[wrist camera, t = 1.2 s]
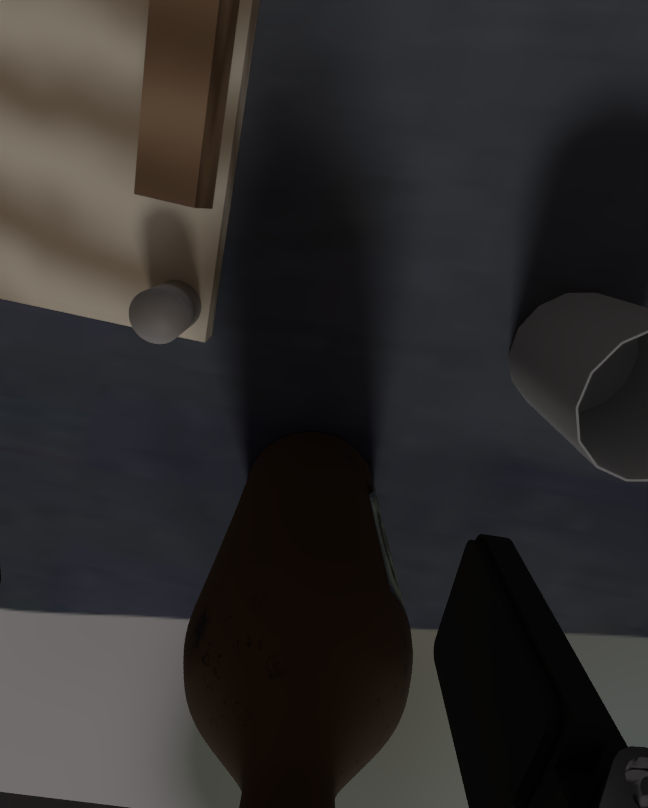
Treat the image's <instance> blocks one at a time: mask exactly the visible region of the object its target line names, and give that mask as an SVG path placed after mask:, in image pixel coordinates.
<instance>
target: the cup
mask: <svg viewBox="0 0 648 808" xmlns="http://www.w3.org/2000/svg"><path fill="white" fill-rule="evenodd" d="M509 363H510V372H511V380H512V382H513V383H514V385H515V386H516V387H517V389H518V390H519V392H520V393H521V394H522V396H523V397H524V399H525V400H526V401H527V402H528V403H529V404H530V405H531V406H532V407H533V408H534V409H535V410H536V411H537V412H539V413H540V414H541V415H542V416H543V417H544V418H545V419H546V420H547V421H548V422H549V423H550V424H551V425H552V426H553V427H554V428H555V429H556V430H557V431H558V432H559V433H561V434H562V435H563V436H564V437H565V438H566V439H567V440H568V441H569V442H570V443H571V444H572V445H573V446H574V447H575V448H576V449H577V450H578V451H579V452H580V453H581V454H583V455H584V456H585V457H586V458H587V459H588V460H589V461H590V462H591V463H592V464H593V465H594V466H595V467H596V468H598V469H600V470H603V471H605V472H607V473H609V474H611V475H614V476H616V477H618V478H620V479H622V480H624V481H648V308H647V307H643V306H640V305H636V304H633V303H630V302H626V301H623V300H619V299H616V298H613V297H609V296H606V295H602V294H599V293H566V294H563V295H561V296H559V297H557V298H555V299H553V300H550V301H548V302H546V303H544V304H542V305H540V306H538V307H537V308H536V309H535V311H534V312H533V313H532V314H531V315H530V316H529V317H528V318H527V319H526V320H525V321H524V322H523V323H522V325H521V326H520V327H519V328H518V330H517V333H516V335H515V338H514V341H513V344H512V347H511V349H510V352H509Z"/></svg>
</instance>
